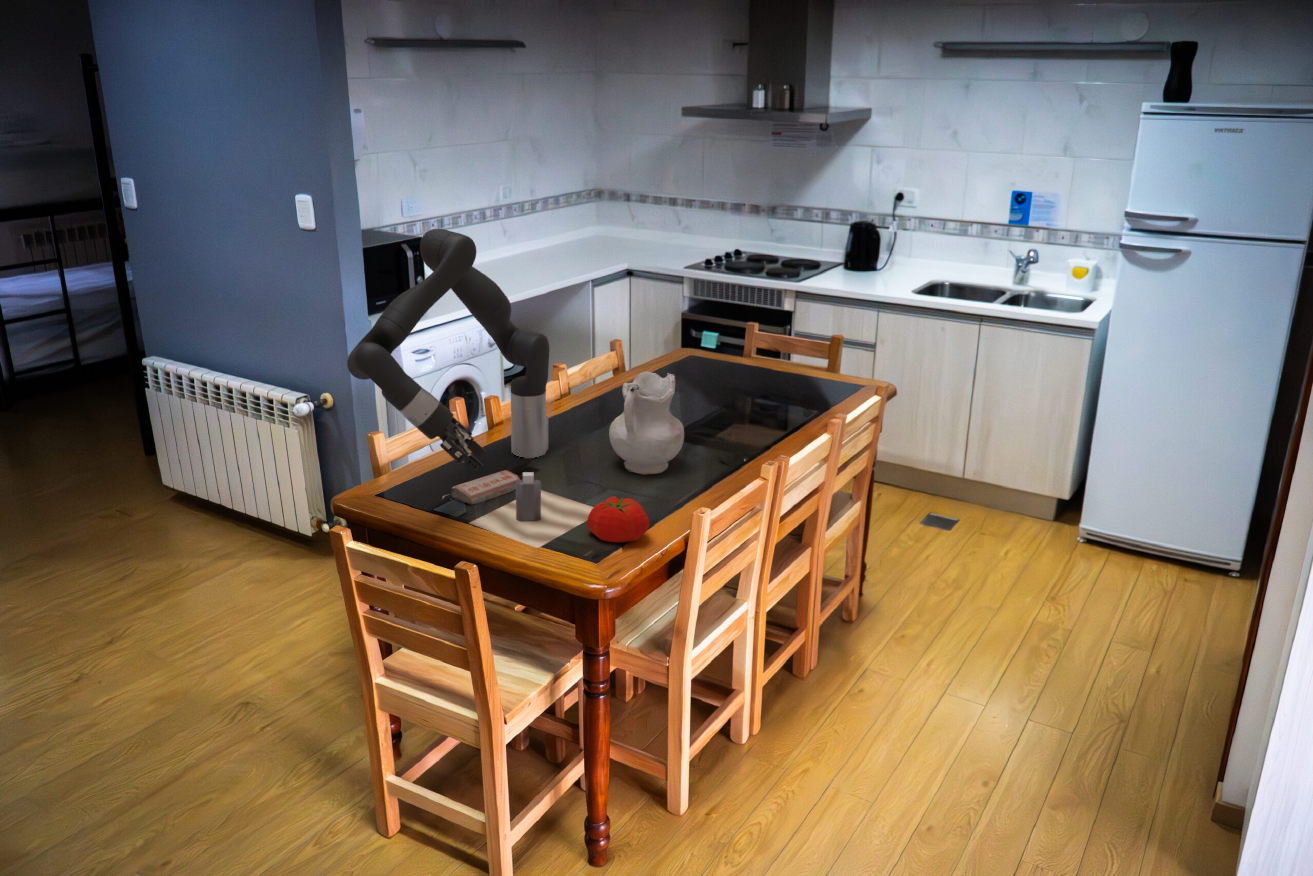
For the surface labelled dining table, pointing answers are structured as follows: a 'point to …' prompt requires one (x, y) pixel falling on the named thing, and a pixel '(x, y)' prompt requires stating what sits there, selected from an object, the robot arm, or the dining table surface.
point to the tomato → (618, 520)
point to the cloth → (553, 522)
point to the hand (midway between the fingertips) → (481, 461)
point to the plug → (528, 498)
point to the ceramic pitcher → (647, 425)
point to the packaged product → (485, 487)
